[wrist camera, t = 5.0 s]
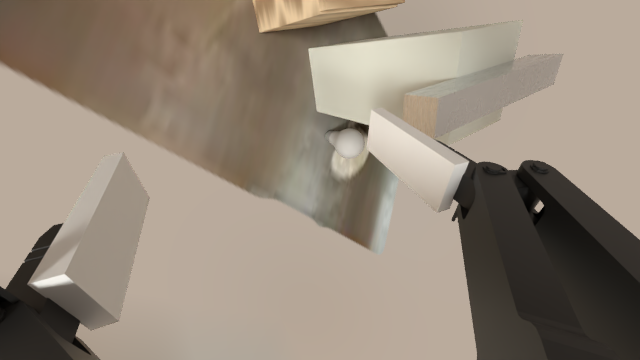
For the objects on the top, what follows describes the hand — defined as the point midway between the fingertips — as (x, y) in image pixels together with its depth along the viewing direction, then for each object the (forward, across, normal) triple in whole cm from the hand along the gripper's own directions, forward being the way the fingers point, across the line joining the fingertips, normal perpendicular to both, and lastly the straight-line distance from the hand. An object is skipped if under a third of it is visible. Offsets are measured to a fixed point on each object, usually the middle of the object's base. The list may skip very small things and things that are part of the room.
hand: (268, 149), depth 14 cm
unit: (+38, +22, -7) cm, 44 cm away
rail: (+8, +26, -2) cm, 27 cm away
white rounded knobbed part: (+35, +18, -19) cm, 44 cm away
